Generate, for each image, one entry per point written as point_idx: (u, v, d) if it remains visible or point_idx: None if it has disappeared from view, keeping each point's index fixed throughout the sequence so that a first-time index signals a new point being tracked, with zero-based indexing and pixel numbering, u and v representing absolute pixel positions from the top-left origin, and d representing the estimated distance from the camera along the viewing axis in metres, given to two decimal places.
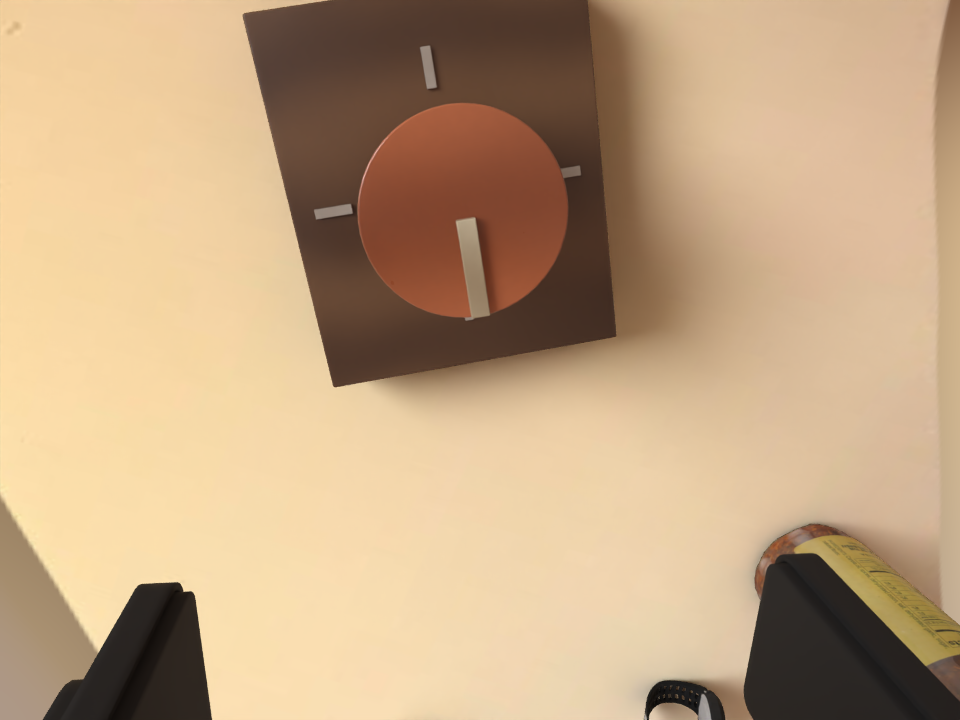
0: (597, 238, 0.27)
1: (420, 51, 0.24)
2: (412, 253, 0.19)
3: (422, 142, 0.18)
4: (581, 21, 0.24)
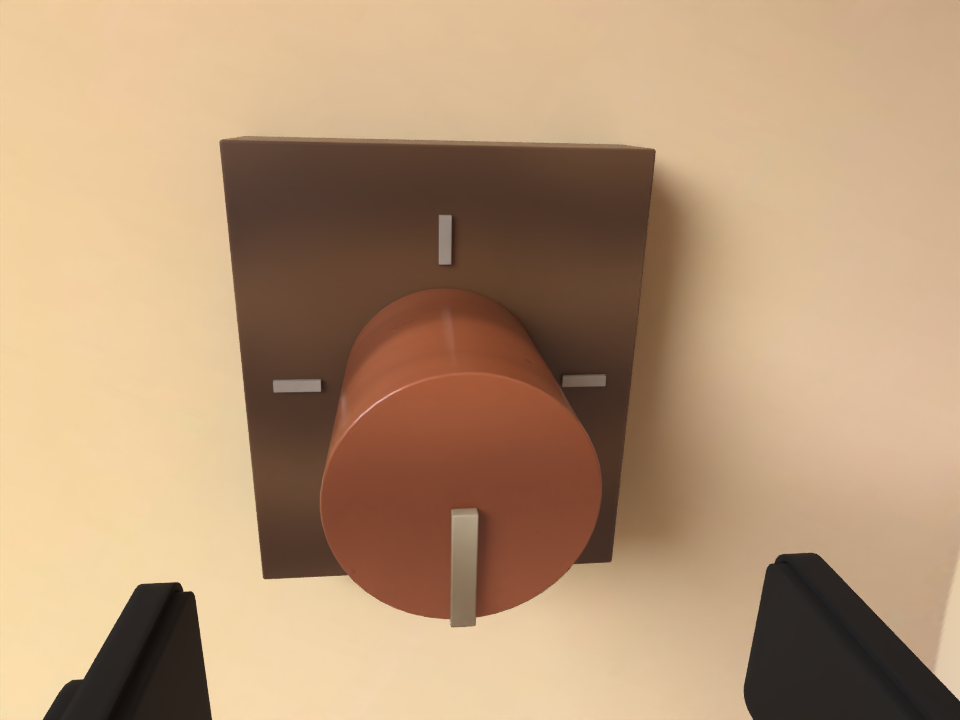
0: (611, 455, 0.22)
1: (438, 219, 0.19)
2: (387, 541, 0.14)
3: (425, 413, 0.14)
4: (639, 215, 0.20)
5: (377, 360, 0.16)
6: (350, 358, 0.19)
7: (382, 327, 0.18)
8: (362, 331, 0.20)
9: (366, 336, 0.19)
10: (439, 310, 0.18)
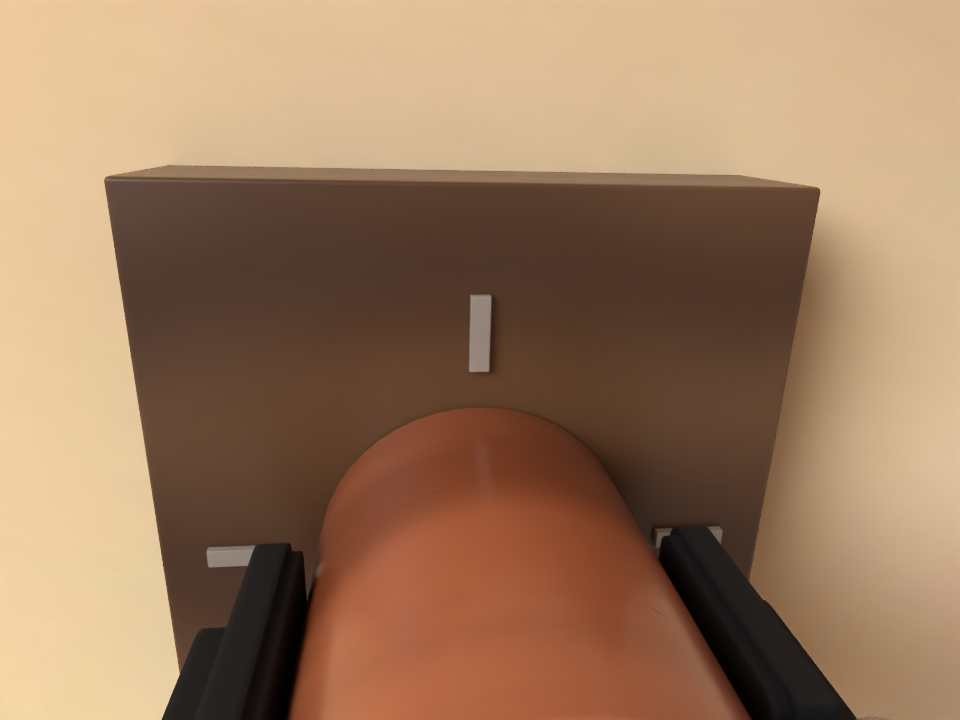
0: None
1: (469, 302, 0.12)
2: None
3: None
4: (788, 292, 0.12)
5: (366, 599, 0.08)
6: (326, 529, 0.12)
7: (377, 492, 0.11)
8: (346, 478, 0.12)
9: (351, 499, 0.11)
10: (476, 471, 0.10)
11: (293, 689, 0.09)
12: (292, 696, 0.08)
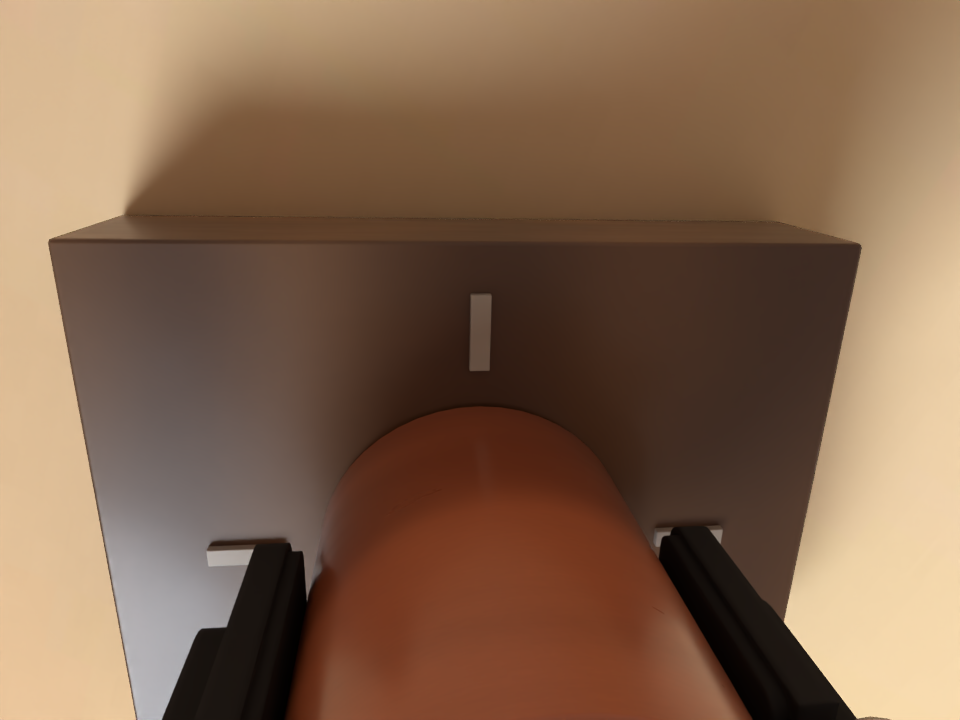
0: (634, 266, 0.12)
1: (217, 563, 0.13)
2: None
3: None
4: (170, 258, 0.11)
5: (367, 597, 0.08)
6: (326, 527, 0.12)
7: (379, 490, 0.11)
8: (347, 476, 0.12)
9: (352, 497, 0.11)
10: (477, 470, 0.10)
11: (294, 686, 0.08)
12: (293, 693, 0.08)
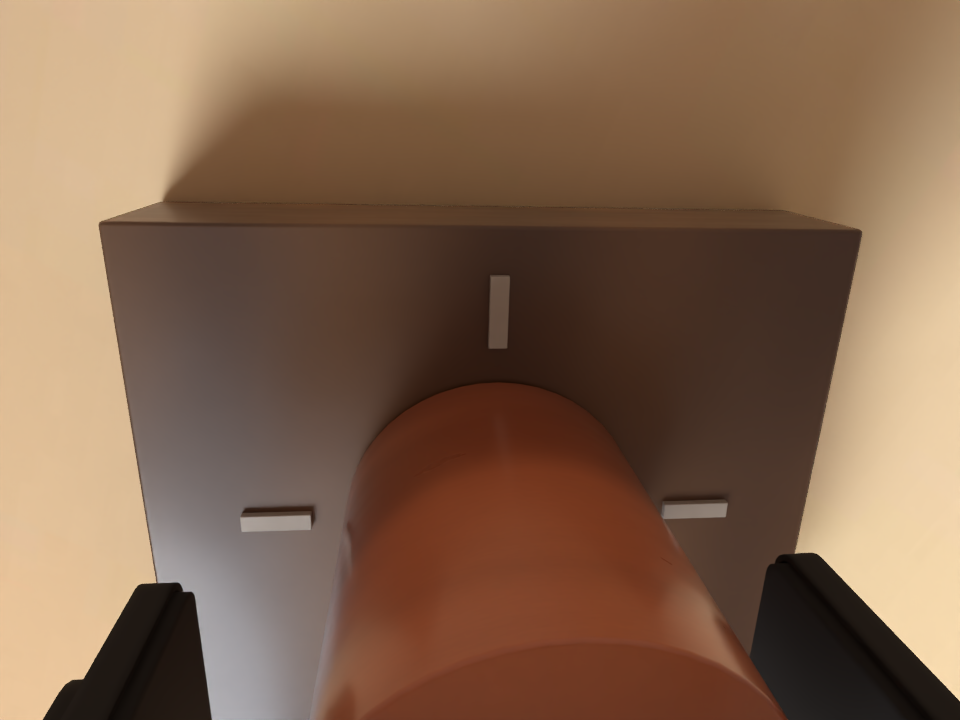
0: (645, 251, 0.13)
1: (249, 529, 0.14)
2: None
3: (496, 711, 0.07)
4: (210, 240, 0.12)
5: (399, 545, 0.09)
6: (354, 492, 0.12)
7: (406, 456, 0.11)
8: (374, 446, 0.13)
9: (380, 463, 0.12)
10: (499, 437, 0.11)
11: (330, 627, 0.09)
12: (330, 633, 0.09)
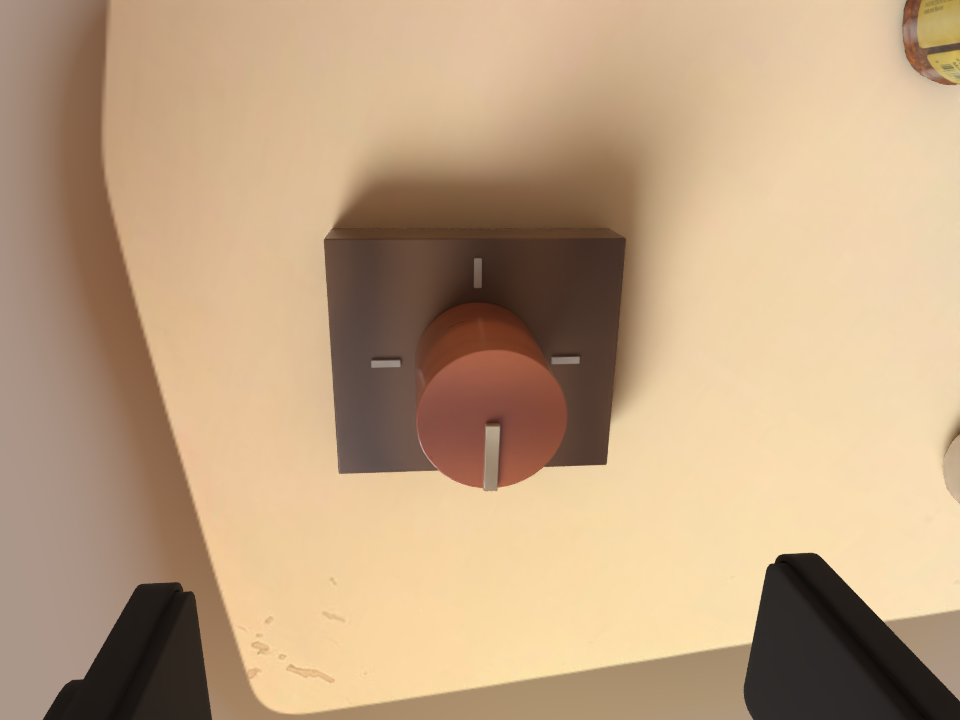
0: (536, 247, 0.32)
1: (374, 367, 0.33)
2: (450, 440, 0.27)
3: (473, 370, 0.26)
4: (365, 245, 0.31)
5: (443, 344, 0.28)
6: (421, 344, 0.31)
7: (442, 325, 0.30)
8: (427, 328, 0.32)
9: (432, 331, 0.31)
10: (477, 316, 0.30)
11: (421, 372, 0.28)
12: (421, 373, 0.28)
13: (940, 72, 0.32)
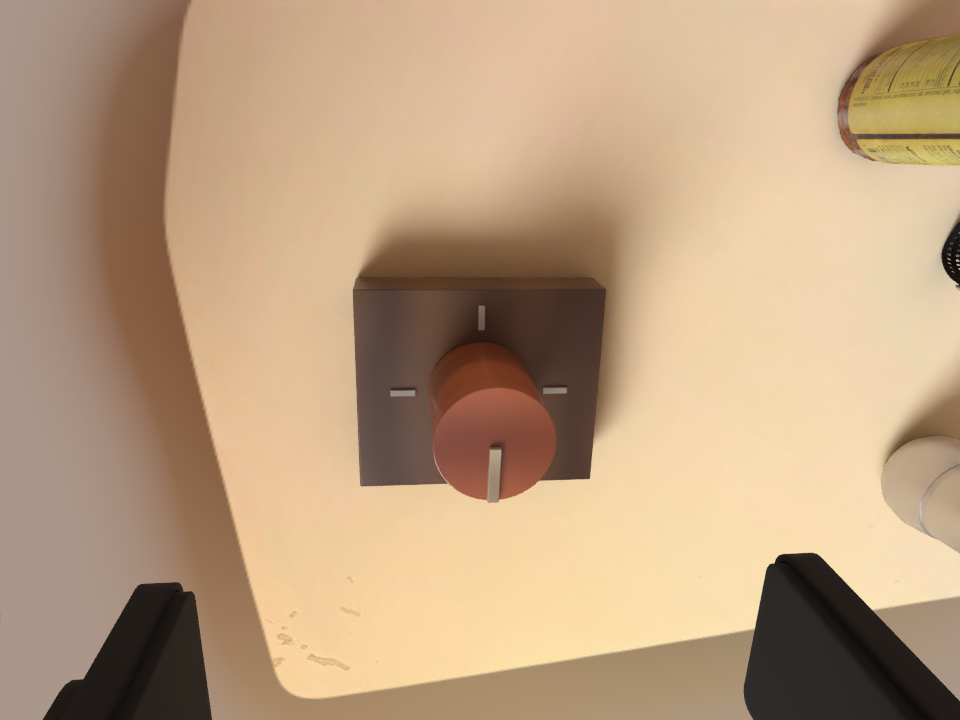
0: (531, 296, 0.38)
1: (392, 395, 0.39)
2: (460, 461, 0.33)
3: (480, 404, 0.32)
4: (387, 294, 0.37)
5: (454, 380, 0.34)
6: (434, 378, 0.37)
7: (452, 363, 0.36)
8: (439, 364, 0.38)
9: (443, 367, 0.37)
10: (481, 356, 0.36)
11: (435, 403, 0.34)
12: (435, 404, 0.34)
13: (867, 153, 0.38)
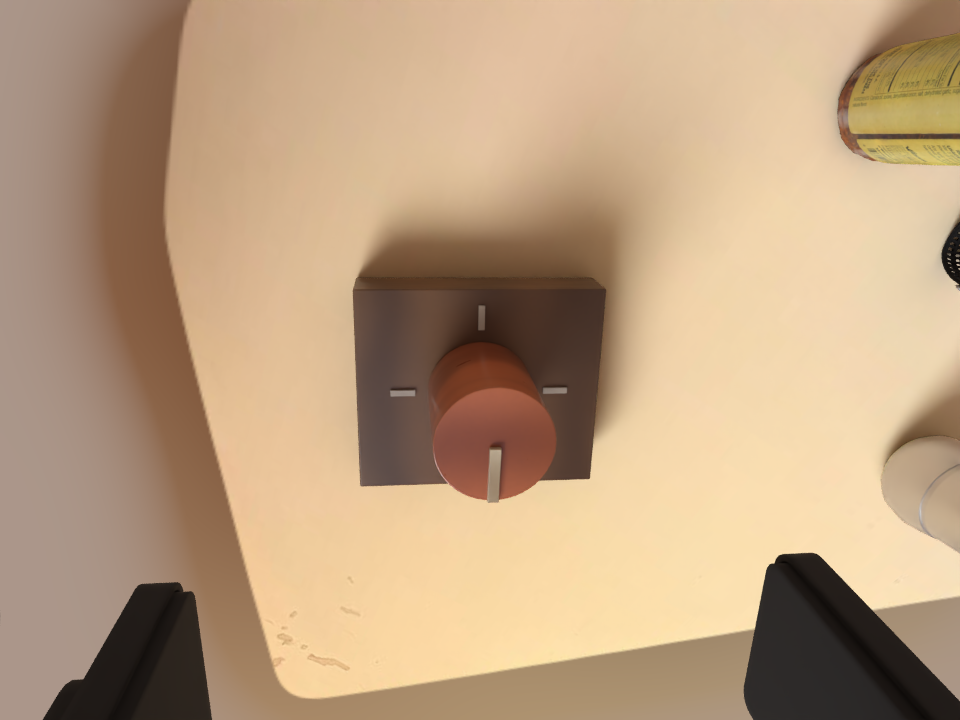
0: (531, 296, 0.38)
1: (392, 395, 0.39)
2: (460, 461, 0.33)
3: (480, 404, 0.32)
4: (387, 294, 0.37)
5: (454, 380, 0.34)
6: (434, 378, 0.37)
7: (452, 363, 0.36)
8: (439, 364, 0.38)
9: (443, 367, 0.37)
10: (481, 356, 0.36)
11: (435, 404, 0.34)
12: (435, 404, 0.34)
13: (867, 153, 0.38)
